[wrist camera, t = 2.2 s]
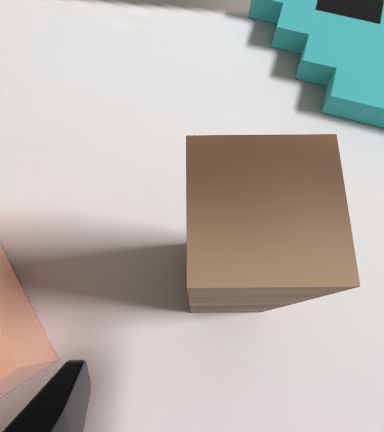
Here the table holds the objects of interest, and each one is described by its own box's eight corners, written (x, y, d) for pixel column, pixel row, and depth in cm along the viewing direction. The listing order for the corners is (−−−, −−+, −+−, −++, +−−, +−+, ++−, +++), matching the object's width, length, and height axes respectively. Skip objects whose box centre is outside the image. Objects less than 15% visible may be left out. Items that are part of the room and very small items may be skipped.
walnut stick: (262, 311, 19) (360, 286, 8) (190, 312, 19) (186, 288, 8) (257, 241, 21) (336, 134, 9) (189, 242, 21) (186, 135, 9)
